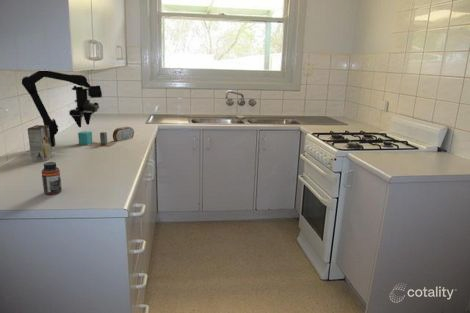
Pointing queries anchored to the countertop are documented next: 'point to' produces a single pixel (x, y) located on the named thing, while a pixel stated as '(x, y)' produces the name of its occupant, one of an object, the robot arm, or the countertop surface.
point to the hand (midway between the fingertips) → (84, 126)
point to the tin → (123, 133)
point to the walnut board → (98, 144)
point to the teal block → (85, 137)
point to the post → (103, 138)
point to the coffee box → (40, 142)
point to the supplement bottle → (51, 178)
